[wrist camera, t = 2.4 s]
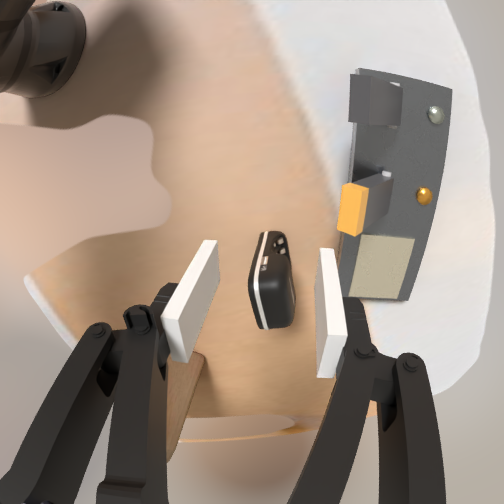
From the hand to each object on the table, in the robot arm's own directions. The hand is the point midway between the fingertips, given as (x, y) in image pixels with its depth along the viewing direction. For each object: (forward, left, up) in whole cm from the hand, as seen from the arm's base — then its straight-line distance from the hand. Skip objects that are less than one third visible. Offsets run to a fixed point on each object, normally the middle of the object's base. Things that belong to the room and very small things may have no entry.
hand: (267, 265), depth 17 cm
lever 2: (+11, 0, -16) cm, 19 cm away
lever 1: (+11, +10, -16) cm, 21 cm away
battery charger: (0, -10, -19) cm, 22 cm away
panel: (+13, -1, -19) cm, 23 cm away
